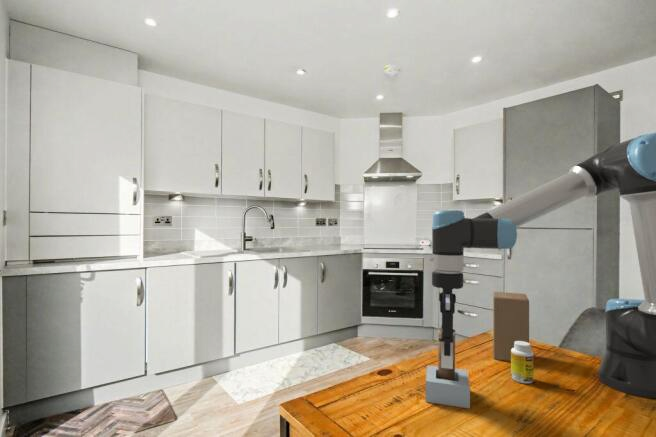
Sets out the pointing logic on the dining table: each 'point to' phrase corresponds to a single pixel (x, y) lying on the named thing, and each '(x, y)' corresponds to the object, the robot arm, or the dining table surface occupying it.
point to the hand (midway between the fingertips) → (446, 363)
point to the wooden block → (509, 323)
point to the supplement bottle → (522, 362)
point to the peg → (442, 372)
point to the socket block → (448, 388)
